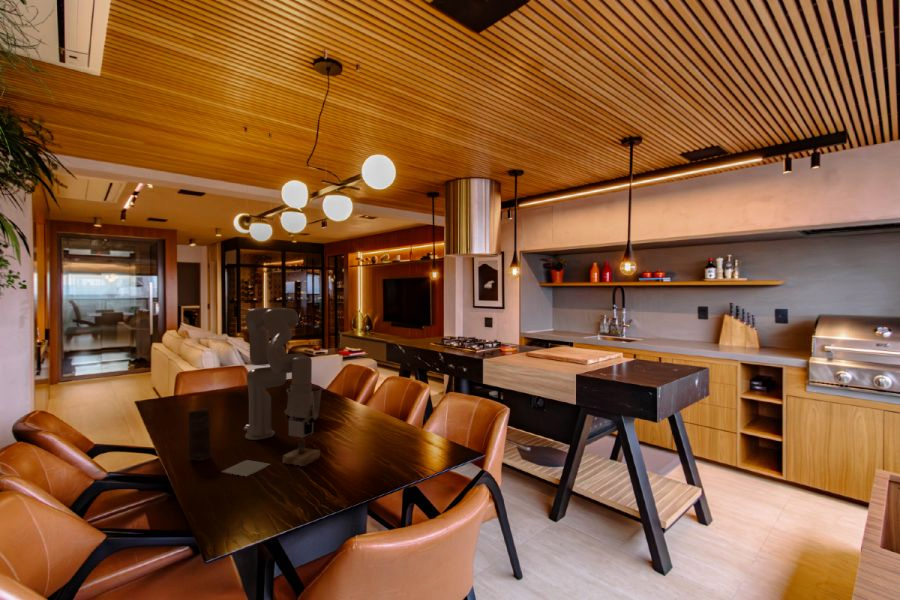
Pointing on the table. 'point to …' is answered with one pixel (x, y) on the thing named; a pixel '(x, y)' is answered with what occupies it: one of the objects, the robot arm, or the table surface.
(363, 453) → the table surface
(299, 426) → the hollow square tube
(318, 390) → the canister
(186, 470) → the table surface
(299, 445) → the peg stand
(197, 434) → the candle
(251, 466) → the rubber pad
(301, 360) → the robot arm
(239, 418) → the table surface
